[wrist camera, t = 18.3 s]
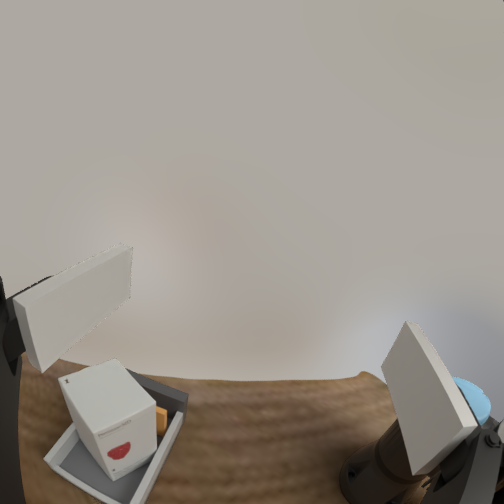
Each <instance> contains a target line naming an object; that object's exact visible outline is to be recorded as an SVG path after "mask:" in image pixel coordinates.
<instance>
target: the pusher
mask: <svg viewBox="0 0 504 504" xmlns="http://www.w3.org/2000/svg"><path fill="white" fill-rule="evenodd" d="M166 432H167V410H165V409H163V408H160V407H158V406H156V433H157V435H160V436H162V437H164V436H165V434H166Z"/></svg>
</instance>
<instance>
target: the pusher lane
mask: <svg viewBox="0 0 504 504" xmlns="http://www.w3.org/2000/svg"><path fill="white" fill-rule="evenodd" d="M125 369H126V368H125ZM126 370H127V371H128V372H129V373H130V375H131V376H132V377H133V378H134V379H135V380H136V381H137V382H138V384H139V385H140V386H141V387H142V388H143V389H144V390H145V391H146V392H147V393H148V394H149V395H150V396H151V397H152V398H153V399H154V400H155V401H156V406H158V407H160V408H163V409H165V410H167V432H166V434H165V436H164V437H162V436H160V435H157V452H156V454H155V456H154V458H153V460H151V461H150V462H148V463H146V464H144V465H143V466H141V467H139V468H137V469H136V470H134V471H132V472H130V473H129V474H127V475H125V476H123V477H121V478H119V479H117V480H115V481H112V480H111V479H110V478H109V476H108V475H107V474H106V473H105V472H104V471H103V469H102V468H101V467H100V465H99V464H98V463H97V462H96V460H95V459H94V458H93V456H92V455H91V453H90V452H89V451H88V449H87V448H86V446H85V445H84V444H83V442H82V441H81V439H80V437H79V434H78V432H77V430H76V427H75V425H74V422H73V423H72V424H71V425H70V426H69V428H68V429H67V430H66V431H65V433H64V434H63V435H62V436H61V437H60V439H59V440H58V441H57V442H56V444H55V445H54V446H53V447H52V449H51V450H50V451H49V452H48V454H47V455H46V456H45V457H44V460H45V462H46V463H47V464H48V465H49V467H50V468H51V469H52V470H53V471H54V472H56V473H57V474H58V475H60V476H61V477H63V478H64V479H65V480H67V481H68V482H70V483H71V484H73V485H74V486H76V487H78V488H79V489H81V490H82V491H84V492H86V493H87V494H89V495H91V496H92V497H94V498H96V499H97V500H99V501H101V502H103V503H105V504H145V503H146V501H147V499H148V497H149V494H150V492H151V490H152V488H153V486H154V484H155V482H156V480H157V478H158V476H159V473H160V471H161V469H162V467H163V465H164V463H165V461H166V459H167V457H168V455H169V452H170V450H171V448H172V446H173V444H174V442H175V440H176V438H177V435H178V433H179V431H180V429H181V427H182V425H183V423H184V420H185V418H186V411H187V403H188V395H189V394H187V393H185V392H182V391H179V390H176V389H174V388H171V387H169V386H166V385H163V384H161V383H158V382H156V381H154V380H151V379H149V378H146V377H144V376H142V375H140V374H137V373H135V372H133V371H131V370H128V369H126Z"/></svg>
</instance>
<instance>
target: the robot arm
mask: <svg viewBox="0 0 504 504" xmlns="http://www.w3.org/2000/svg"><path fill="white" fill-rule="evenodd" d="M503 1H504V0H503ZM132 251H133V248H132V247H130V246H127V245H124V244H118V245H115V246H113V247H111V248H109V249H107V250H105V251H103V252H100V253H98V254H96V255H95V256H92V257H90V258H88V259H86V260H84V261H82V262H80V263H78V264H76V265H74V266H72V267H70V268H68V269H66V270H64V271H62V272H60V273H58V274H56V275H53V276H49V277H46V278H44V279H42V280H40V281H39V282H38V283H35V284H33V285H31V287H27V288H25V289H24V290H22V291H20V292H18V293H16V294H15V295H13V296H11V297H9V298H8V299H6V298H5V293H4V288H3V282H2V278H1V276H0V504H26V502H25V497H24V491H23V485H22V478H21V470H20V459H19V444H18V404H19V388H20V377H21V369H22V357H21V354H22V353H23V352H25V351H26V354H27V357H28V360H29V363H30V364H31V365H33V366H34V367H35V368H37V369H38V370H39V371H41V372H42V373H43V372H44V371H45V370H46V369H48V368H49V367H50V366H51V365H52V364H53V363H54V362H55V361H56V360H58V359H59V358H60V357H61V356H62V355H63V354H64V353H65V352H67V351H68V350H69V349H70V348H71V347H72V346H74V345H75V344H76V343H77V342H78V341H79V340H81V338H83V337H84V336H85V335H86V334H88V333H89V332H90V331H91V330H92V329H93V328H95V327H96V326H97V325H98V324H99V323H101V322H102V321H103V320H104V319H105V318H106V317H108V316H109V315H110V314H111V313H112V312H114V311H115V310H116V309H117V308H119V306H121V305H122V304H124V303H125V302H126V301H127V300H128V299H129V298H130V286H131V266H132ZM381 368H382V371H383V374H384V377H385V380H386V383H387V386H388V389H389V392H390V395H391V398H392V401H393V404H394V408H395V411H396V414H397V420H396V421H395V422H394V423H393V424H392V425H391V427H390V428H389V429H388V430H387V431H386V432H385V433H384V435H383V436H382V437H381V438H380V439H378V440H376V441H374V442H372V443H370V444H368V445H366V446H364V447H362V448H360V449H359V450H357V451H356V452H355V453H353V454H352V455H351V456H350V457H349V458H348V459H347V461H346V462H345V463H344V465H343V467H342V469H341V472H340V486H341V490H342V492H343V494H344V496H345V498H346V499H347V500H348V501H349V502H350V503H351V504H403V503H405V502H406V501H407V500H408V499H409V498H410V497H411V496H412V494H413V493H414V492H415V490H416V489H417V487H418V486H419V484H420V483H421V482H422V480H423V479H424V478H425V477H427V476H428V477H430V479H429V480H428V481H426V482H425V483H424V484H423V485H422V486H421V487H423V488H424V487H425V486H426V485H428V484H429V483H431V484H430V486H429V487H428V488H427V489H426V490H427V492H426V494H425V496H424V498H423V500H422V501H421V503H420V504H504V419H503V420H502V421H501V422H500V423H499V422H497V421H496V420H495V419H493V418H492V417H490V416H489V413H490V410H491V404H490V401H489V399H488V397H487V396H485V395H483V394H484V393H483V391H482V390H481V389H480V388H479V387H477V386H476V385H474V384H472V383H471V382H469V381H466V380H463V379H461V378H457V377H451V375H450V374H449V372H448V370H447V368H446V367H445V365H444V363H443V362H442V360H441V358H440V357H439V355H438V354H437V352H436V350H435V349H434V347H433V346H432V344H431V343H430V341H429V340H428V338H427V337H426V335H425V334H424V332H423V331H422V329H421V328H420V326H419V325H418V324H417V323H412V322H407V321H405V323H404V325H403V327H402V329H401V331H400V333H399V335H398V337H397V339H396V341H395V342H394V345H393V346H392V348H391V350H390V352H389V353H388V355H387V357H386V359H385V361H384V362H383V364H382V366H381Z"/></svg>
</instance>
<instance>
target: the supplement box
mask: <svg viewBox="0 0 504 504" xmlns="http://www.w3.org/2000/svg"><path fill="white" fill-rule="evenodd" d="M58 381H59V384H60V387H61V390H62V393H63V396H64V398H65V401H66V404H67V407H68V410H69V412H70V415H71V417H72V420H73V422H74V425H75V427H76V430H77V432H78V434H79V437H80V439H81V441H82V442H83V444H84V445H85V446H86V448H87V449H88V451H89V452H90V453H91V455H92V456H93V458H94V459H95V460H96V462H97V463H98V464H99V465H100V467H101V468H102V469H103V471H104V472H105V473H106V474H107V475H108V476H109V478H110V479H111V480H112V481H115V480H117V479H119V478H121V477H123V476H125V475H127V474H129V473H130V472H132V471H134V470H136V469H137V468H139V467H141V466H143V465H144V464H146V463H148V462H150V461H151V460H153V458H154V456H155V454H156V452H157V433H156V401H155V400H154V399H153V398H152V397H151V396H150V395H149V394H148V393H147V392H146V391H145V390H144V389H143V388H142V387H141V386H140V385H139V384H138V382H137V381H136V380H135V379H134V378H133V377H132V376H131V375H130V373H129V372H128V371H127V370H126V369H125V368H124V367H123V365H122V364H121V363H120V362H119V360H118V359H117V358H114V359H111V360H108V361H106V362H103V363H100V364H98V365H95V366H89V367H86V368H84V369H82V370H81V371H78V372H75V373H72V374H69V375H66V376H63V377H60V378H58Z"/></svg>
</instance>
